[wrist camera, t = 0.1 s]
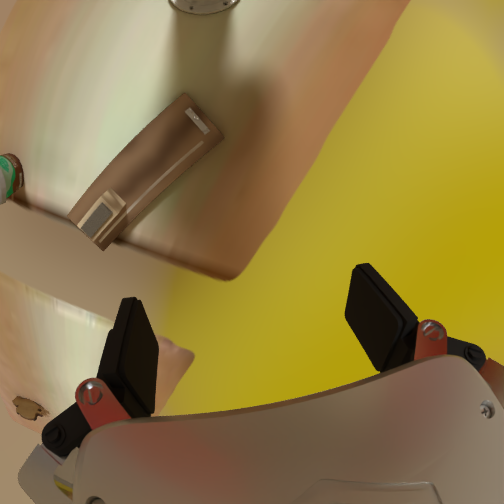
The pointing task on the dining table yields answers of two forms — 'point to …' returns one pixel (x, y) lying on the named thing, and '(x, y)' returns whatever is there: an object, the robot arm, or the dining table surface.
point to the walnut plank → (150, 164)
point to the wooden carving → (27, 408)
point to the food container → (10, 176)
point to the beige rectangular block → (101, 214)
